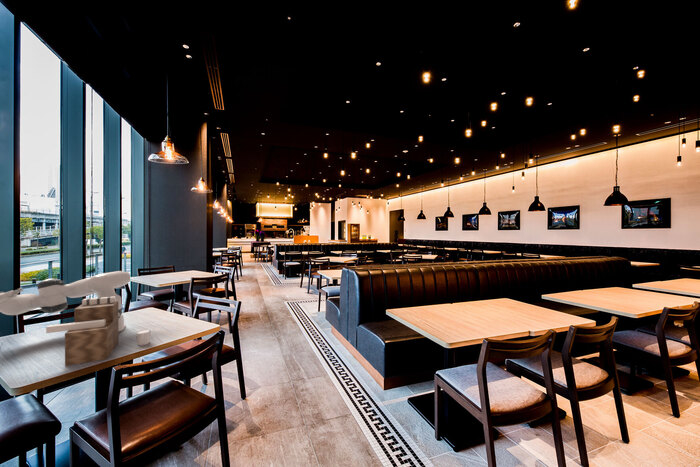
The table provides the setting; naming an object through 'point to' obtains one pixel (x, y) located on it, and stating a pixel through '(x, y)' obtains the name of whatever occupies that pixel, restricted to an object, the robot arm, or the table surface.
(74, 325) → the plain bar
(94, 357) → the two-step stand
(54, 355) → the table surface
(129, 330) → the table surface
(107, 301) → the striped bar
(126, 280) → the robot arm
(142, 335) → the white rounded cube
